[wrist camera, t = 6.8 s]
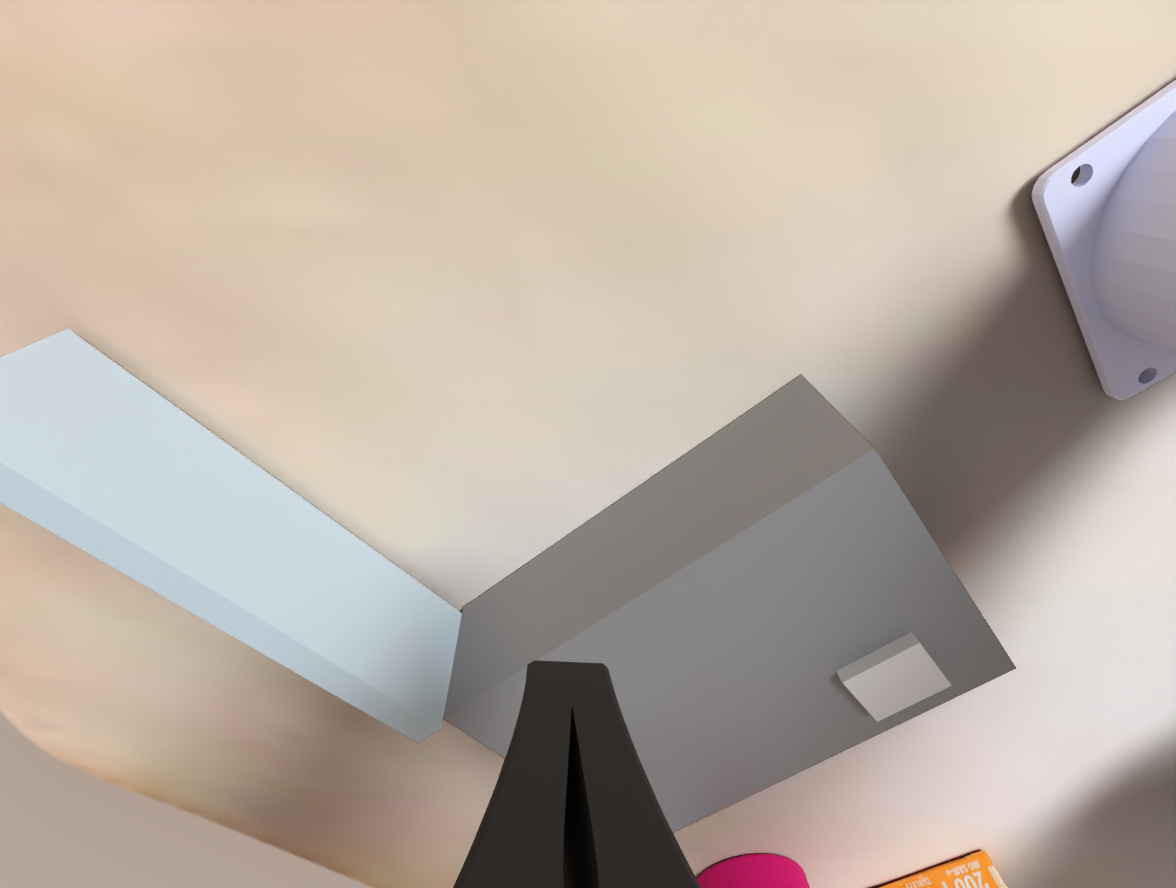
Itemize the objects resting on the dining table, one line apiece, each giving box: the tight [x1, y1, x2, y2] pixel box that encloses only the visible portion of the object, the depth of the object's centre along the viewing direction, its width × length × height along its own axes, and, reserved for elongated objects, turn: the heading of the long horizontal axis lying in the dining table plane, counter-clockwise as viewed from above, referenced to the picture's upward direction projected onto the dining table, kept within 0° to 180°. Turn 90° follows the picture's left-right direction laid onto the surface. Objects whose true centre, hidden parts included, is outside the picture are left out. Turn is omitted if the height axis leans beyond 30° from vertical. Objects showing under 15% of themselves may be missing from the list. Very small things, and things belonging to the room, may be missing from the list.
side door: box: [0, 329, 462, 743], centre depth 16 cm, size 14×2×4 cm, turn 41°
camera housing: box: [443, 375, 1016, 833], centre depth 19 cm, size 15×10×5 cm, turn 129°
